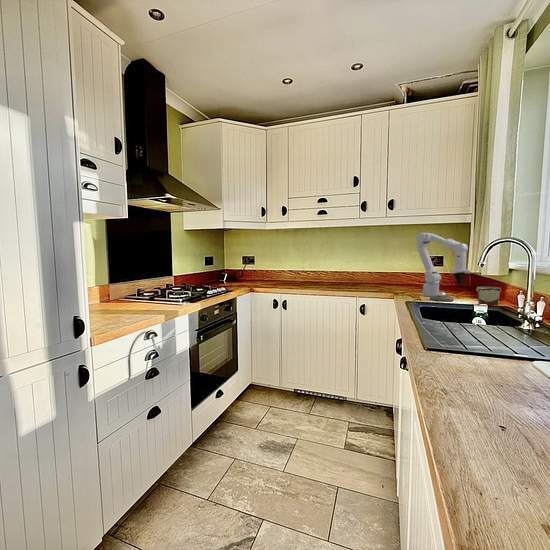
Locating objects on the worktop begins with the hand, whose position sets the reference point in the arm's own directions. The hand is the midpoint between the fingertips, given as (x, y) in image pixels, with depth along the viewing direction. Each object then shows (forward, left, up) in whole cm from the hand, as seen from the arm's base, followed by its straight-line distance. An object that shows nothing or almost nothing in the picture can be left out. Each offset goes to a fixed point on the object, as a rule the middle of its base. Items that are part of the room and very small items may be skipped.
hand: (459, 284), depth 189 cm
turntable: (-2, -12, -9) cm, 16 cm away
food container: (+20, -5, -10) cm, 23 cm away
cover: (-3, -12, -7) cm, 14 cm away
